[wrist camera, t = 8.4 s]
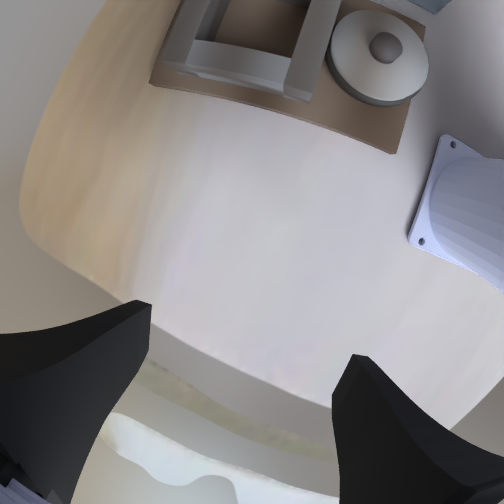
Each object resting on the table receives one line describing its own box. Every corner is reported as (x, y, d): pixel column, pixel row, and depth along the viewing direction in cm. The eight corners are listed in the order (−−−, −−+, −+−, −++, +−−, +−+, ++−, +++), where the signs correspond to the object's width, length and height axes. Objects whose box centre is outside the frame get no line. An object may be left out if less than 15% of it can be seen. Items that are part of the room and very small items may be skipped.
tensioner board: (420, 31, 14) (447, 7, 10) (390, 154, 17) (419, 153, 13) (202, -27, 14) (184, -60, 10) (154, 86, 17) (122, 70, 13)
